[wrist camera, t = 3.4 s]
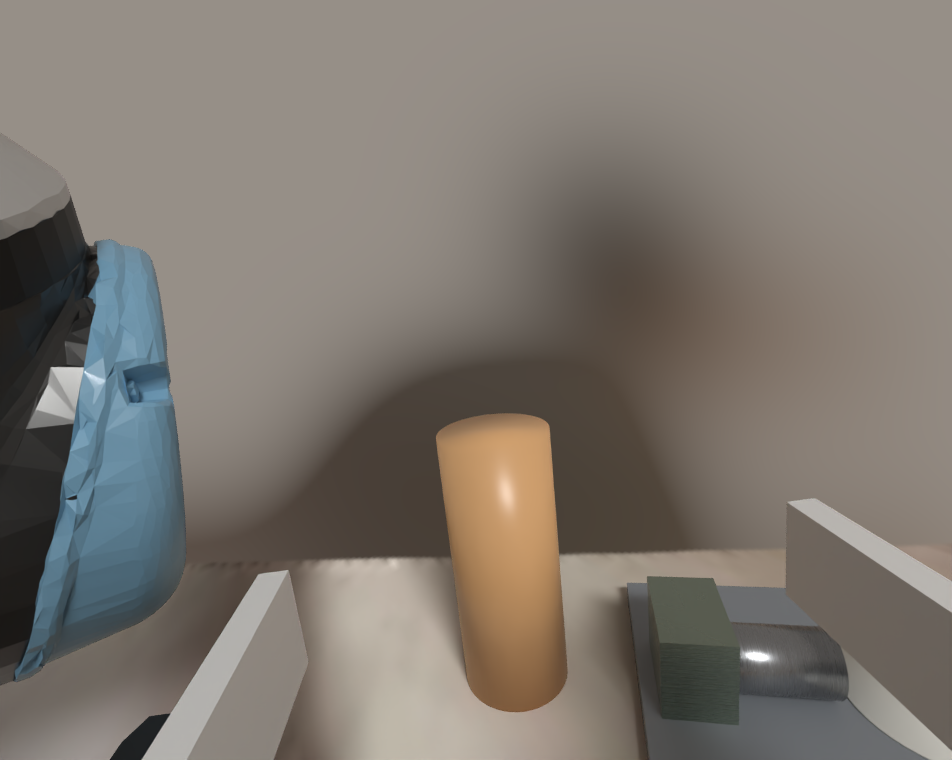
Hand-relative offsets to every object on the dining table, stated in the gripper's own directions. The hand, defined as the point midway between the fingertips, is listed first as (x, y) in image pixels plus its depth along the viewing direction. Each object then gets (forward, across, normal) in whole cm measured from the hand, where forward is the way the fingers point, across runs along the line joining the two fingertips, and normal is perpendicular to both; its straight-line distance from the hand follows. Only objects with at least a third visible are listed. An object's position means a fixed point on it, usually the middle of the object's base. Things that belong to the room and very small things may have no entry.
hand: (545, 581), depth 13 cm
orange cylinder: (+11, 0, -12) cm, 16 cm away
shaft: (+7, +9, -11) cm, 16 cm away
